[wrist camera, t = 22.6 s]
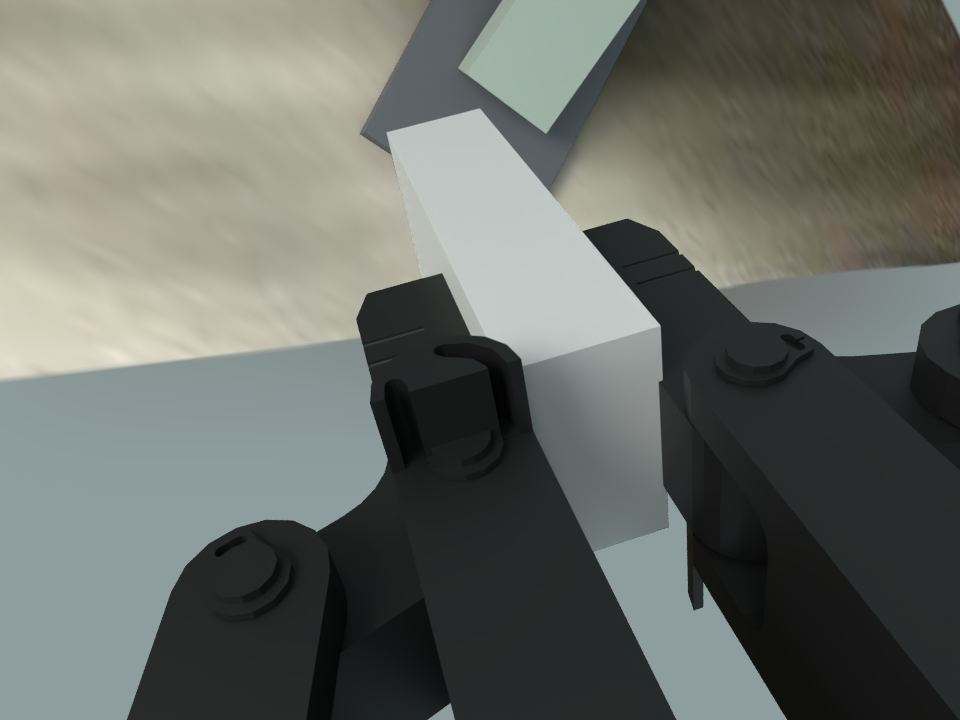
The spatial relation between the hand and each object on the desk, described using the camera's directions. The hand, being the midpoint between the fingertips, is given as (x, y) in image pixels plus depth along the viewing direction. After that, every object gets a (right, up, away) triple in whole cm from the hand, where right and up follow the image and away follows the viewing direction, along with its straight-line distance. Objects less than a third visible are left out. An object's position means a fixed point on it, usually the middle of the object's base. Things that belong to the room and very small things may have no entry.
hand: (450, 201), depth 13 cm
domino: (+2, +10, +27) cm, 29 cm away
